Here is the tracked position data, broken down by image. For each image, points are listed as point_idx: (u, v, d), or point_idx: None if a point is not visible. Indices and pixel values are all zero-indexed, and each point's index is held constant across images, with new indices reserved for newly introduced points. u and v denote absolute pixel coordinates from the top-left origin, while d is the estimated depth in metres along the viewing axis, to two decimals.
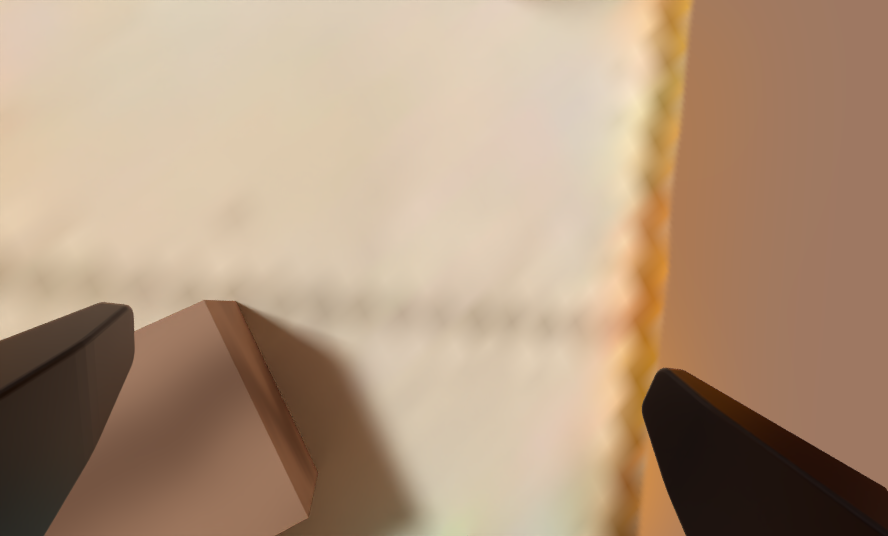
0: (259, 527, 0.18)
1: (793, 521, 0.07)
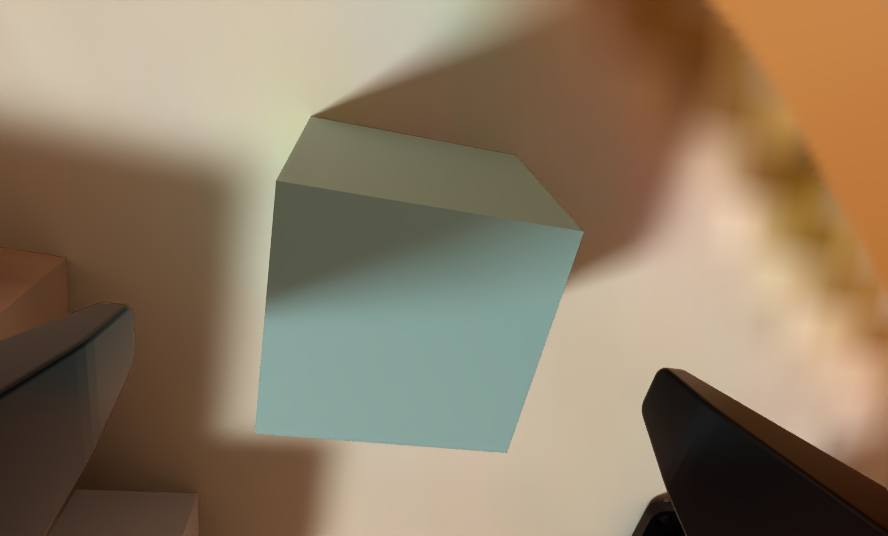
0: None
1: (793, 521, 0.07)
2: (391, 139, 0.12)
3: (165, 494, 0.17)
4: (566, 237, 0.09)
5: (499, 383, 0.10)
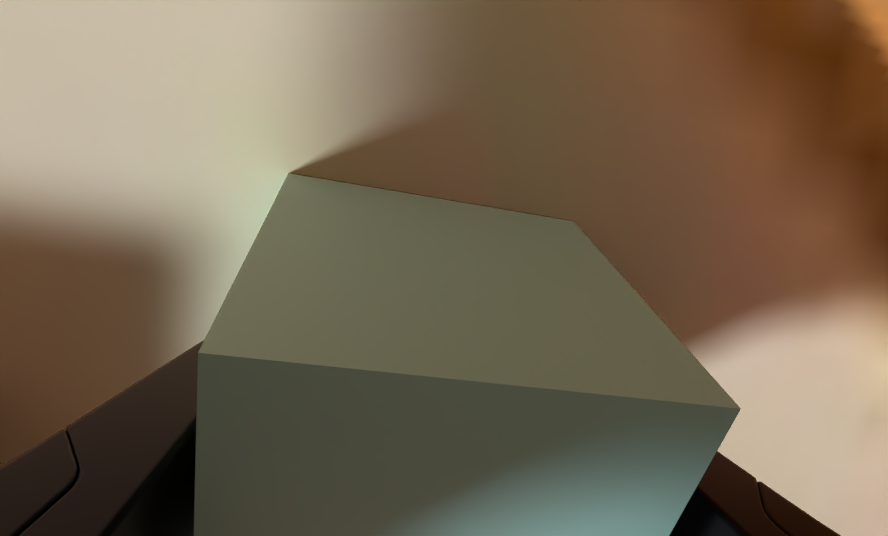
0: None
1: None
2: (403, 210, 0.08)
3: None
4: (709, 417, 0.05)
5: None
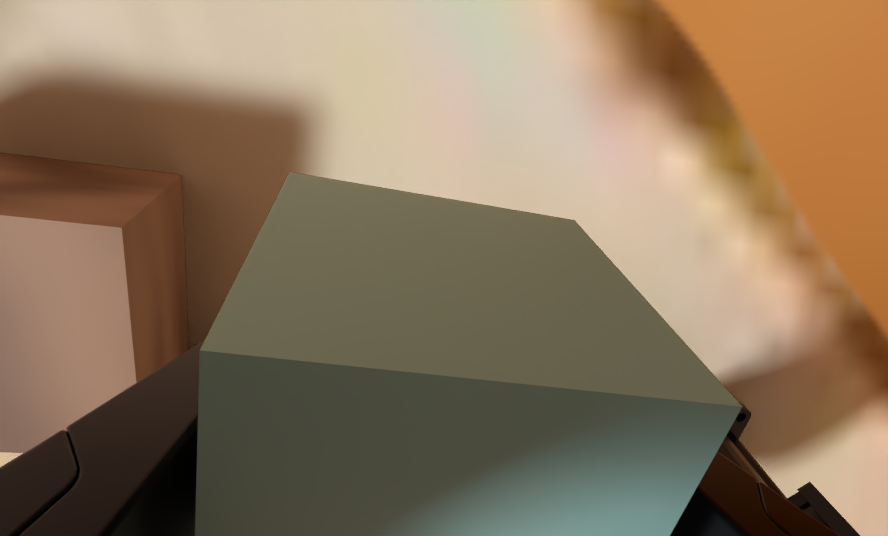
0: (107, 276, 0.14)
1: None
2: (404, 209, 0.08)
3: None
4: (711, 416, 0.05)
5: None
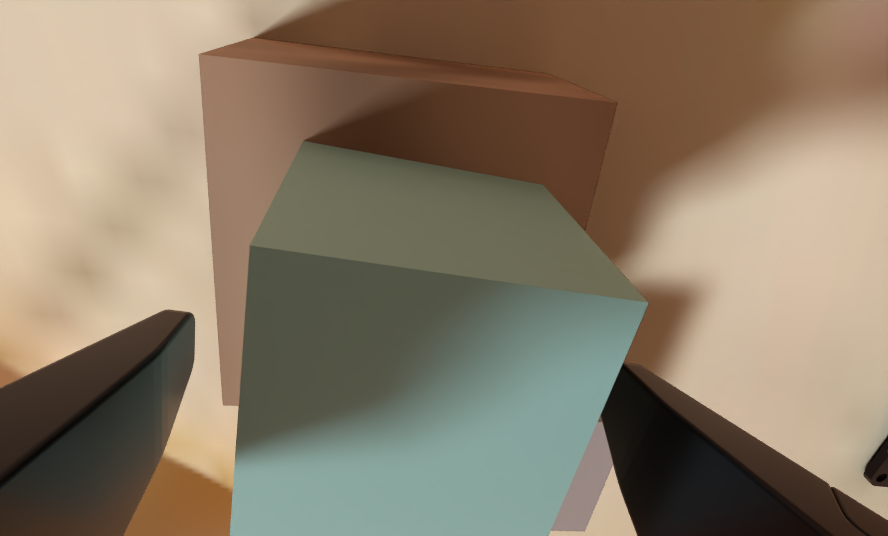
0: (577, 172, 0.11)
1: (734, 518, 0.07)
2: (398, 170, 0.10)
3: None
4: (625, 309, 0.07)
5: (533, 480, 0.08)
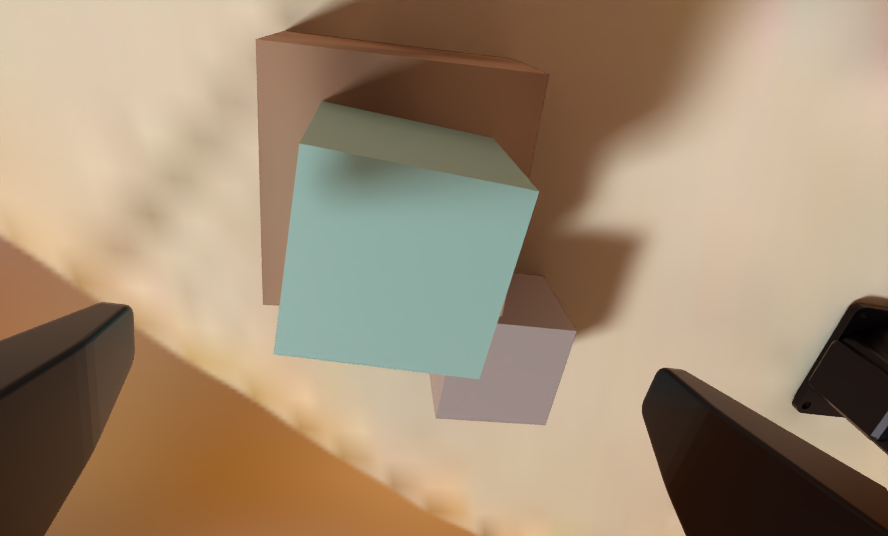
0: (523, 125, 0.16)
1: (793, 521, 0.07)
2: (388, 121, 0.14)
3: (523, 275, 0.23)
4: (525, 195, 0.11)
5: (472, 317, 0.13)
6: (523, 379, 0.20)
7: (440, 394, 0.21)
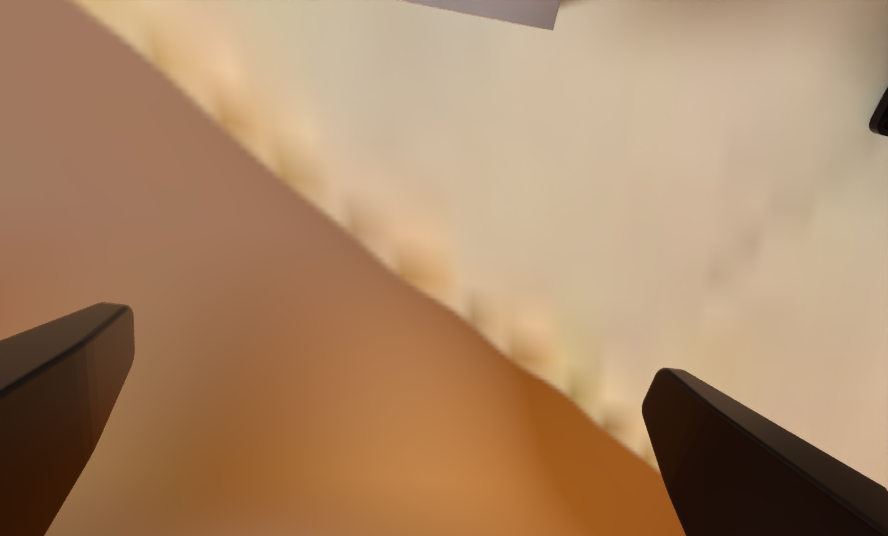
0: None
1: (793, 521, 0.07)
2: None
3: None
4: None
5: None
6: None
7: None
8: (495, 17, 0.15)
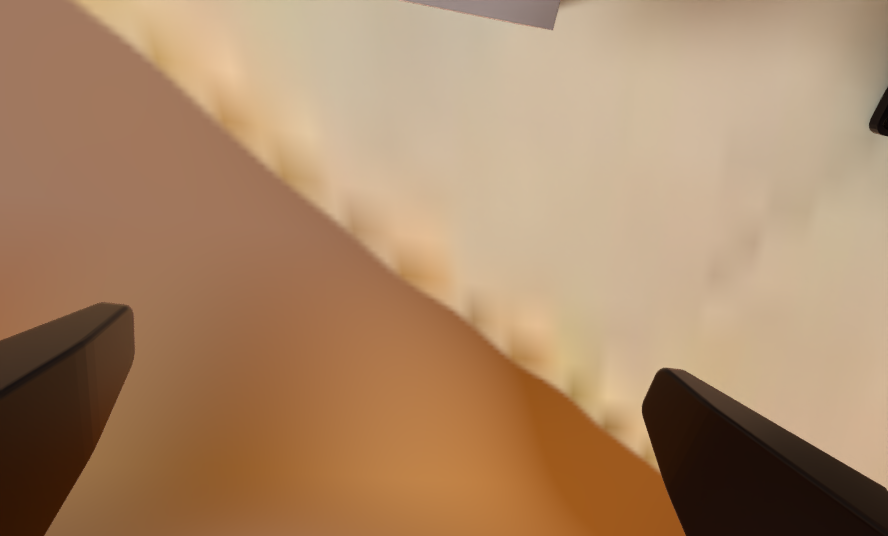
0: None
1: (793, 521, 0.07)
2: None
3: None
4: None
5: None
6: None
7: None
8: (495, 17, 0.15)
